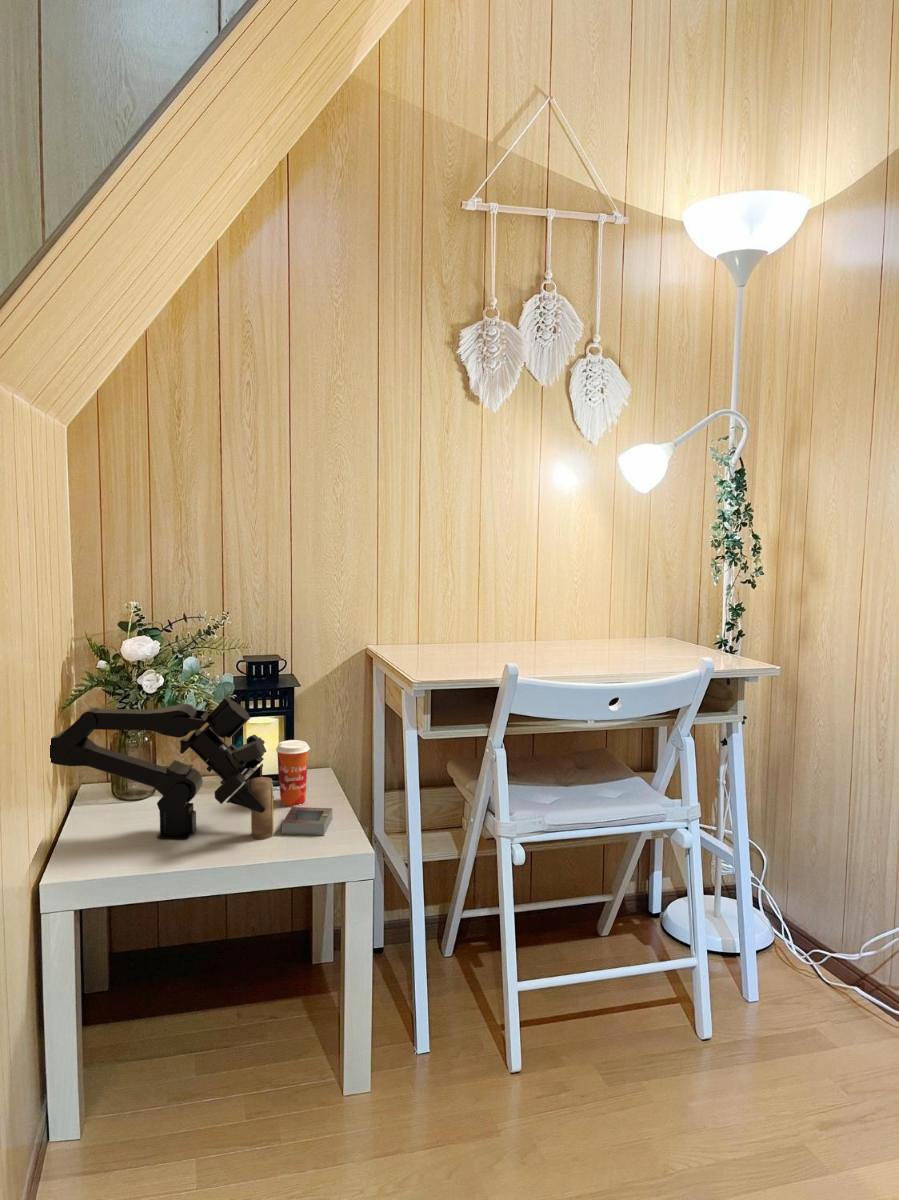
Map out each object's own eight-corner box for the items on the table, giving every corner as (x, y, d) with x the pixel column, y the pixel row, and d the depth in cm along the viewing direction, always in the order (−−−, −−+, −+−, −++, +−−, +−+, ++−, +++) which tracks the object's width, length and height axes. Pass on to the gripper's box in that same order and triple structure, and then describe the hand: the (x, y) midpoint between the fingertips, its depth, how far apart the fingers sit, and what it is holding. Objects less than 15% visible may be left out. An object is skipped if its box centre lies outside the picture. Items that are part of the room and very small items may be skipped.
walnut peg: (249, 839, 196) (248, 783, 195) (254, 831, 200) (253, 776, 199) (270, 839, 196) (269, 783, 194) (275, 832, 200) (274, 777, 199)
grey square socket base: (282, 834, 199) (281, 821, 199) (292, 818, 209) (292, 806, 209) (324, 835, 199) (324, 823, 198) (332, 819, 208) (332, 807, 208)
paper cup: (277, 808, 215) (276, 749, 213) (275, 798, 222) (274, 740, 221) (311, 806, 217) (311, 747, 215) (308, 796, 224) (308, 738, 222)
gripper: (229, 738, 186) (284, 793, 187) (253, 716, 205) (304, 766, 206) (190, 776, 188) (246, 831, 188) (218, 750, 206) (268, 800, 207)
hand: (268, 805), depth 197 cm, fingers open, 7 cm apart
